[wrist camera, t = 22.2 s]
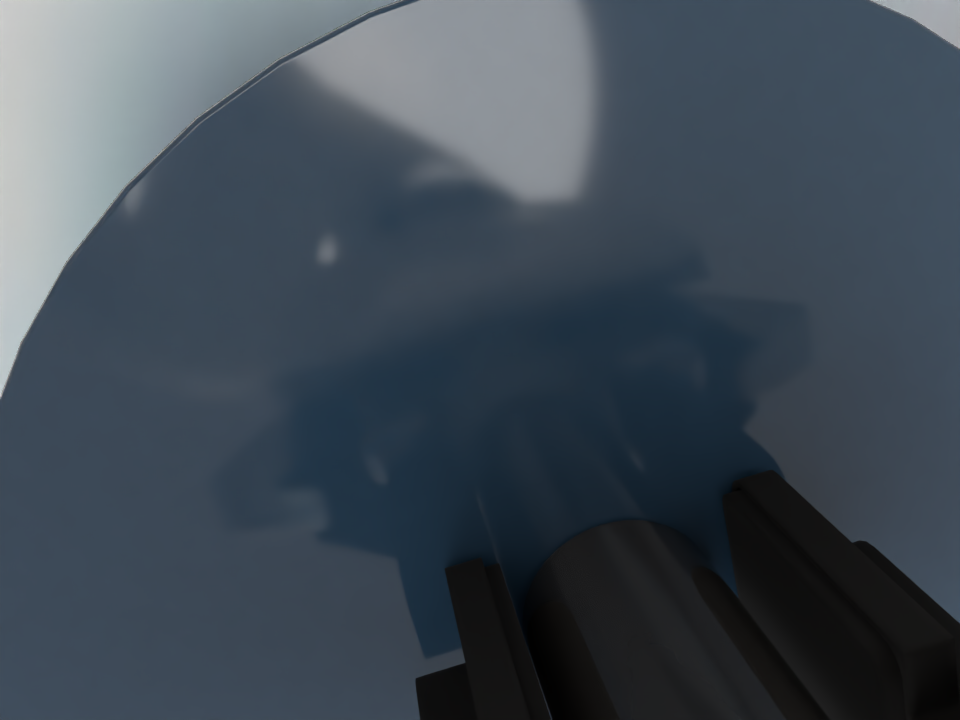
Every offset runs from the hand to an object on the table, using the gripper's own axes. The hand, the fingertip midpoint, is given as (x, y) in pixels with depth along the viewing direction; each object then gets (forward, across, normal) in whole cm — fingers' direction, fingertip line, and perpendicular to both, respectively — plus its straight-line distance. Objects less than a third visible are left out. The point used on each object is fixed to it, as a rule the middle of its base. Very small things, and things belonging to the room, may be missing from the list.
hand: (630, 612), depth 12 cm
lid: (+1, 0, 0) cm, 1 cm away
